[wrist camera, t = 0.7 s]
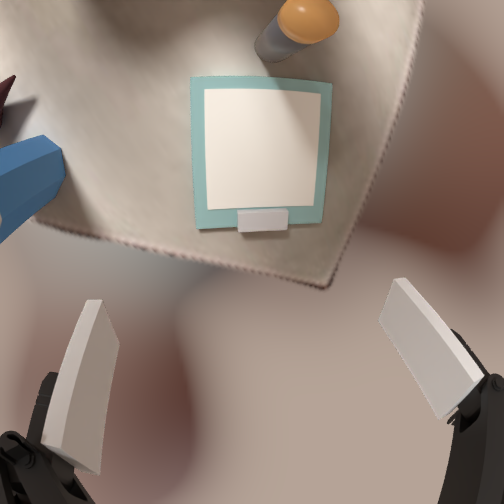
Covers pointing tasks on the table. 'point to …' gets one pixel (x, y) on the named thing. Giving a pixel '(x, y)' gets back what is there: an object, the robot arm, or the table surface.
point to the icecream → (5, 93)
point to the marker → (296, 28)
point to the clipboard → (259, 151)
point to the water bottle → (27, 180)
